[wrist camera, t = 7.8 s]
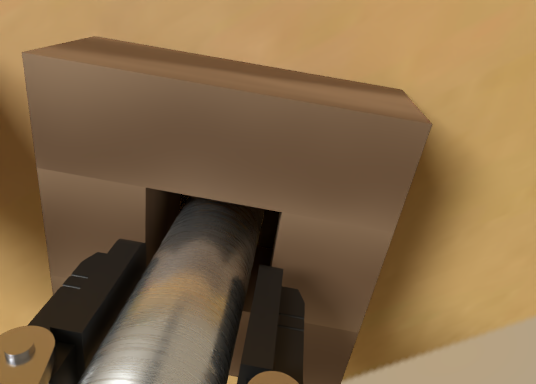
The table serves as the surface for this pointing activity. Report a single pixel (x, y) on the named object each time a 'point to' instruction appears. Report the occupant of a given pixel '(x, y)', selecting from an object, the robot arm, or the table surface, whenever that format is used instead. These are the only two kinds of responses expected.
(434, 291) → the table surface
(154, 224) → the socket block
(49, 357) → the robot arm
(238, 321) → the pin
